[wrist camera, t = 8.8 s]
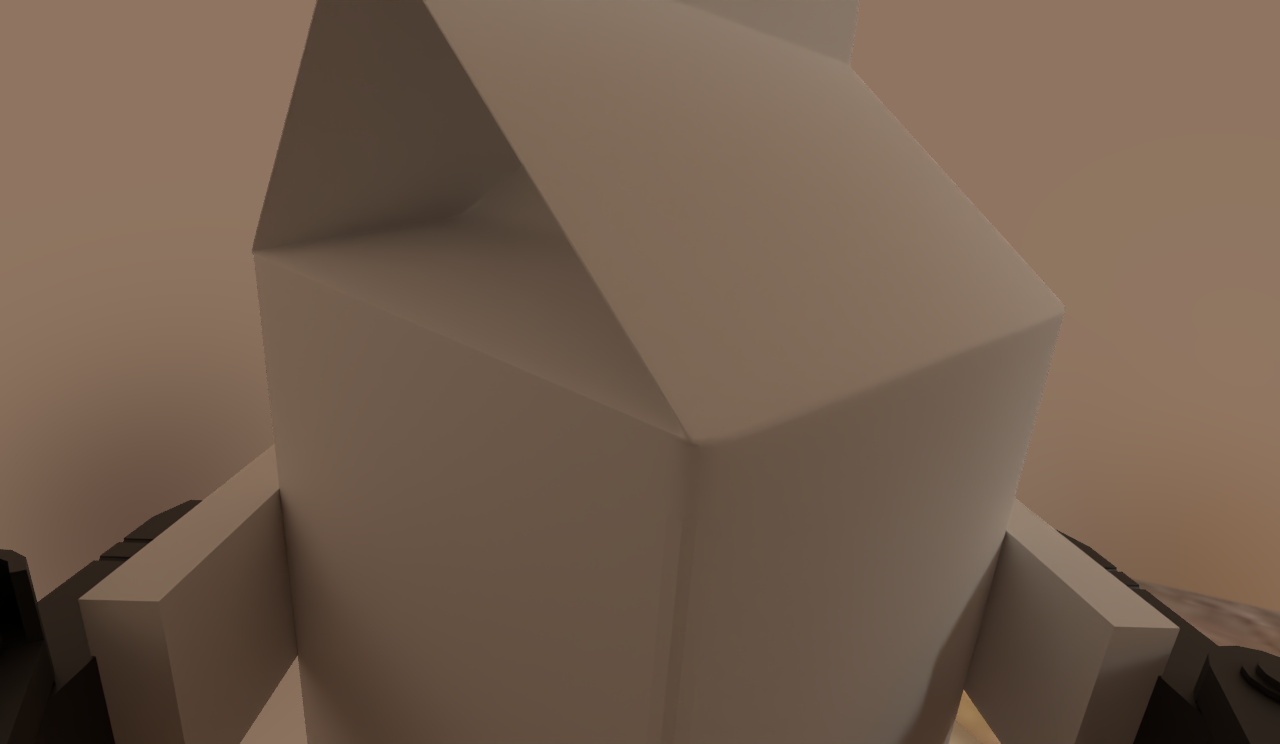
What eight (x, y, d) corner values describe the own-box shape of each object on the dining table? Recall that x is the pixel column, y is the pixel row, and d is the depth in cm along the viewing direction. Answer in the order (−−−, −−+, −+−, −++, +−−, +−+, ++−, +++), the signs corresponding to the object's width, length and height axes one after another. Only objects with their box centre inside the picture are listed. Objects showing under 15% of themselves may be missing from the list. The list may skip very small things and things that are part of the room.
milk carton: (864, 1072, 12) (1173, -70, 7) (577, 1648, 7) (844, -931, 2) (614, 809, 17) (672, 15, 11) (338, 1049, 12) (204, -145, 6)
